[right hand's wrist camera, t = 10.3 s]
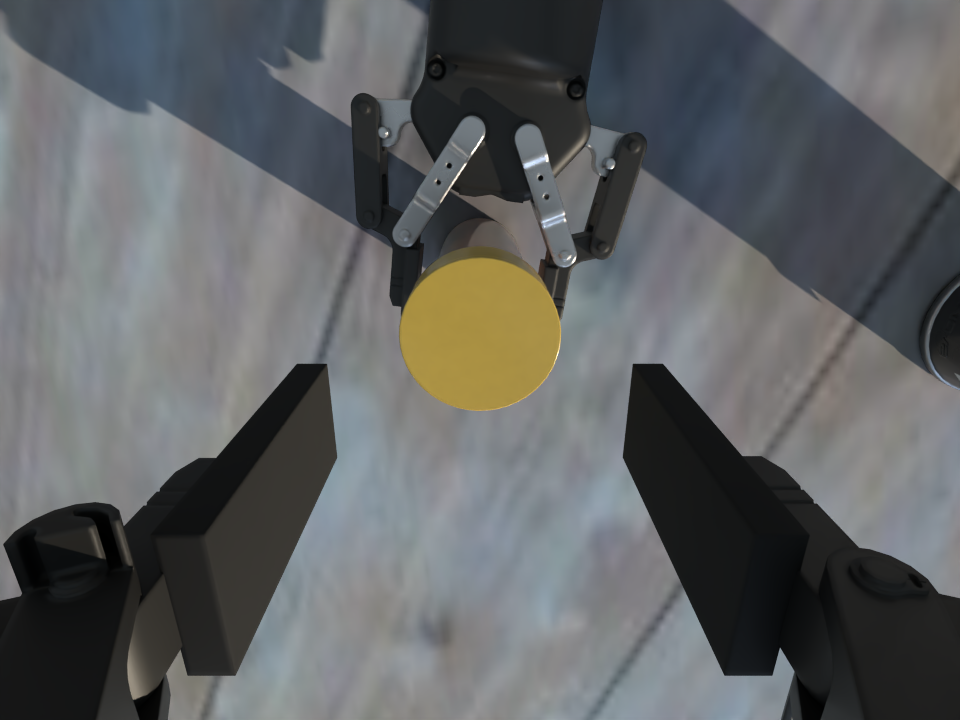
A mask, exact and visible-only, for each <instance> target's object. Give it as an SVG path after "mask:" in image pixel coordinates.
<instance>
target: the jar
mask: <svg viewBox="0 0 960 720" xmlns="http://www.w3.org/2000/svg"><path fill="white" fill-rule="evenodd" d="M474 246H486V247H494V248H498V249H502V250H505V251H508V252H510V253H512V254H514V255H516V256H518V257H520V258H521V259H522V257H521V254H520V252H519V249H518V246H517V244H516V242H515V239H514V237H513V236H512V234H511V233H510V232H509V231H508V230H507V229H506V228H505V227H504V226H503V225H501V224H500V223H498V222H496V221H494V220H491V219H486V218H474V219H469V220H466V221H464V222H462V223H460V224H459V225H457V226H456V227H455V228H454V229H453V230H452V231H451V232H450V233H449V234H448V236H447V237H446V239H445V241H444V244H443V246H442V249H441V251H440V254H439V257H438V259H439V258H440V257H442V256H444V255H446V254H448V253H450V252H452V251H455V250H458V249H461V248H467V247H474Z"/></svg>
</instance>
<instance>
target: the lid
mask: <svg viewBox="0 0 960 720" xmlns="http://www.w3.org/2000/svg"><path fill="white" fill-rule="evenodd" d="M399 340H400V348H401V352H402V356H403V358H404V361H405V364H406V366H407V368H408V369H409V371H410V373H411V375H412V376H413V377H414V379H415V380H416V381H417V383H418V384H419V385H420V386H421V387H422V388H423V389H424V390H426V391H427V392H428V393H429V394H430V395H432V396H433V397H435V398H437V399H438V400H440V401H442V402H444V403H446V404H448V405H451V406H454V407H457V408H461V409H466V410H475V411H484V410H494V409H499V408H503V407H506V406H509V405H512V404H514V403H516V402H518V401H520V400H522V399H524V398H525V397H527V396H528V395H529V394H531V393H532V392H533V391H535V390H536V389H537V388H538V387H539V386H540V385H541V384H542V382H543V381H544V380H545V379H546V378H547V376H548V375H549V373H550V371H551V370H552V368H553V366H554V363H555V361H556V359H557V355H558V352H559V348H560V341H561V327H560V320H559V316H558V312H557V309H556V307H555V304H554V302H553V300H552V298H551V296H550V294H549V292H548V290H547V287H546V285H545V284H544V282H543V280H542V279H541V277H540V276H539V275H538V273H537V272H536V271H535V270H534V269H533V268H532V267H531V266H530V265H529V264H528V263H527V262H525V261H524V260H523V259H521V258H520V257H518V256H516V255H514V254H512V253H510V252H508V251H505V250H502V249H498V248H494V247H486V246H474V247H467V248H461V249H458V250H455V251H452V252H450V253H448V254H446V255H444V256H442V257H440V258H439V259H437V260H436V261H435V262H433V263H432V264H431V265H430V266H429V267H428V268H427V269H426V270H425V271H424V272H423V273H422V274H421V276H420V277H419V279H418V280H417V282H416V284H415V286H414V288H413V290H412V292H411V294H410V296H409V298H408V300H407V302H406V304H405V306H404V309H403V312H402V315H401V321H400V326H399Z"/></svg>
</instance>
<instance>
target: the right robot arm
mask: <svg viewBox="0 0 960 720" xmlns="http://www.w3.org/2000/svg"><path fill="white" fill-rule="evenodd" d="M336 459H337V451H336V442H335V433H334V423H333V414H332V405H331V396H330V387H329V377H328V368H327V364H297V365H296V366H295V367H294V368H293V369H292V370H291V372H290V373H289V374H288V375H287V376H286V377H285V379H284V380H283V381H282V382H281V383H280V384H279V386H278V387H277V388H276V389H275V390H274V391H273V392H272V394H271V395H270V396H269V397H268V398H267V399H266V401H265V402H264V403H263V404H262V405H261V406H260V408H259V409H258V410H257V411H256V412H255V413H254V415H253V416H252V417H251V418H250V419H249V420H248V422H247V423H246V424H245V425H244V426H243V427H242V429H241V430H240V431H239V432H238V433H237V434H236V436H235V437H234V438H233V439H232V440H231V441H230V443H229V444H228V445H227V446H226V447H225V448H224V450H223V451H222V452H221V453H220V454H219V455H218V456H217V458H198V459H197V460H195V461H193V462H191V463H190V464H188V465H186V466H185V467H183V468H181V469H180V470H178V471H176V472H175V473H174V474H173V475H172V476H171V477H170V478H169V479H168V480H167V482H166V483H165V484H164V485H163V486H162V487H161V488H160V492H156V493H155V494H154V495H153V496H152V497H151V498H150V499H149V501H148V502H147V505H146V506H143V507H142V508H141V509H140V510H139V511H138V512H137V513H136V514H135V515H134V516H133V517H132V518H131V519H130V521H129V522H128V523H127V524H126V525H125V526H123V522H122V519H121V515H120V512H119V510H118V509H117V508H115V507H114V506H112V505H111V504H105V503H97V502H93V503H84V504H75V505H72V506H68V507H65V508H61V509H57V510H54V511H52V512H49V513H47V514H45V515H43V516H40V517H38V518H36V519H34V520H32V521H30V522H29V523H27V524H26V525H24V526H23V527H21V528H20V529H18V530H17V531H15V532H14V533H13V534H12V535H11V536H10V537H9V539H8V540H7V541H6V542H5V543H4V544H3V545H4V548H5V550H6V553H7V555H8V558H9V560H10V563H11V566H12V568H13V571H14V573H15V576H16V578H17V581H18V584H19V586H20V589H21V591H22V595H21V596H20V597H16V598H11V599H6V600H2V601H0V720H168V712H169V704H170V696H171V695H170V689H169V683H168V679H167V676H166V672H167V671H168V669H169V667H170V666H171V664H172V662H173V661H174V659H175V657H176V656H177V654H178V652H179V651H180V649H181V653H182V656H183V660H184V664H185V668H186V671H187V675H188V676H235V675H236V673H237V671H238V669H239V667H240V665H241V663H242V660H243V658H244V656H245V654H246V652H247V650H248V648H249V645H250V643H251V641H252V639H253V637H254V635H255V633H256V630H257V628H258V626H259V624H260V622H261V620H262V618H263V615H264V613H265V611H266V609H267V607H268V605H269V603H270V600H271V598H272V596H273V594H274V592H275V590H276V588H277V585H278V583H279V581H280V579H281V577H282V575H283V573H284V570H285V568H286V566H287V564H288V562H289V560H290V558H291V555H292V553H293V551H294V549H295V547H296V545H297V543H298V540H299V538H300V536H301V534H302V532H303V530H304V528H305V525H306V523H307V521H308V519H309V517H310V515H311V512H312V510H313V508H314V506H315V504H316V502H317V500H318V497H319V495H320V493H321V491H322V489H323V487H324V485H325V482H326V480H327V478H328V476H329V474H330V472H331V470H332V467H333V465H334V463H335V461H336ZM623 459H624V461H625V463H626V465H627V467H628V470H629V472H630V474H631V476H632V478H633V480H634V482H635V485H636V487H637V489H638V491H639V493H640V495H641V497H642V500H643V502H644V504H645V506H646V508H647V510H648V512H649V515H650V517H651V519H652V521H653V523H654V525H655V528H656V530H657V532H658V534H659V536H660V538H661V540H662V543H663V545H664V547H665V549H666V551H667V553H668V555H669V558H670V560H671V562H672V564H673V566H674V568H675V570H676V573H677V575H678V577H679V579H680V581H681V583H682V585H683V588H684V590H685V592H686V594H687V596H688V598H689V600H690V603H691V605H692V607H693V609H694V611H695V613H696V615H697V618H698V620H699V622H700V624H701V626H702V628H703V630H704V633H705V635H706V637H707V639H708V641H709V643H710V645H711V648H712V650H713V652H714V654H715V656H716V658H717V660H718V663H719V665H720V667H721V669H722V671H723V673H724V675H725V676H772V675H773V671H774V668H775V664H776V660H777V656H778V653H779V649H780V648H781V650H782V651H783V653H784V654H785V656H786V658H787V659H788V661H789V663H790V664H791V666H792V668H793V669H794V671H795V672H794V676H793V679H792V683H791V686H790V690H789V693H788V697H787V700H786V704H785V707H784V711H783V714H782V718H781V720H792V719H793V720H960V598H956V597H951V596H947V595H942V594H939V593H938V592H937V591H936V589H935V588H934V587H933V585H932V584H931V583H930V582H929V580H928V579H927V578H926V577H924V576H923V575H922V574H920V573H919V572H918V571H916V570H915V569H914V568H912V567H911V566H909V565H907V564H905V563H904V562H902V561H900V560H898V559H896V558H894V557H892V556H889V555H886V554H883V553H880V552H877V551H874V550H870V549H863V548H859V547H858V546H857V545H856V544H855V543H854V542H853V541H852V540H851V539H850V538H849V537H848V536H847V535H846V534H845V533H844V532H843V530H842V529H841V528H840V527H839V526H838V525H837V524H836V523H835V522H834V521H833V520H832V519H831V518H830V517H829V516H828V515H827V514H826V513H825V512H824V511H823V510H822V509H821V507H820V506H819V505H818V504H814V502H813V499H812V498H811V497H810V496H809V495H808V494H807V493H806V492H805V491H804V490H801V488H800V485H799V484H798V483H797V482H796V481H795V480H794V479H793V478H792V477H791V476H790V475H789V474H788V473H787V472H786V471H785V470H784V469H782V468H780V467H779V466H777V465H775V464H774V463H772V462H770V461H769V460H767V459H765V458H763V457H762V456H742V455H741V454H740V453H739V452H738V451H737V450H736V448H735V447H734V446H733V445H732V444H731V443H730V441H729V440H728V439H727V438H726V437H725V436H724V434H723V433H722V432H721V431H720V430H719V429H718V427H717V426H716V425H715V424H714V423H713V422H712V420H711V419H710V418H709V417H708V416H707V415H706V413H705V412H704V411H703V410H702V409H701V408H700V406H699V405H698V404H697V403H696V402H695V401H694V399H693V398H692V397H691V396H690V395H689V394H688V392H687V391H686V390H685V389H684V388H683V387H682V386H681V384H680V383H679V382H678V381H677V380H676V379H675V377H674V376H673V375H672V374H671V373H670V372H669V370H668V369H667V368H666V367H665V366H664V365H663V364H633V368H632V377H631V387H630V396H629V405H628V414H627V423H626V433H625V442H624V451H623Z"/></svg>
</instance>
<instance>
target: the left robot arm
mask: <svg viewBox="0 0 960 720" xmlns="http://www.w3.org/2000/svg"><path fill="white" fill-rule="evenodd" d="M602 2H603V0H431V1H430V13H429V25H428V37H427V50H426V62H425V72H424V77H423V80H422V82H421V85H420V87H419V89H418V90H417V92H416V93H415V95H414V97H413V99H412V100H403V99H377V98H375V97H373V96H371V95H369V94H366V93H360V94H358V95H356V96H355V97H354V98H353V100H352V102H351V120H352V139H353V159H354V179H355V198H356V217H357V220H358V222H359V224H360V225H361V226H363V227H364V228H367V229H373V230H375V231H377V232H379V233H381V234H383V235H384V236H386V237H387V238H388V239H389V240H390V242H391V244H392V248H393V254H392V268H391V282H390V299H391V302H392V305H393V306H400V307H401V315H402V312H403V309H404V306H405V304H406V302H407V300H408V298H409V296H410V294H411V292H412V290H413V288H414V286H415V284H416V282H417V280H418V279H419V277H420V276H421V271H422V260H423V249H424V243H420V237H421V233H422V231H423V230H424V228H425V227H426V225H427V224H428V222H429V221H430V219H431V218H432V216H433V215H434V213H435V212H436V210H437V209H438V207H439V206H440V204H441V203H442V201H443V200H444V198H445V197H446V195H447V193H448V192H449V190H450V189H453V190H454V191H456V192H458V193H459V195H466V196H474V197H476V196H483V195H495V196H497V197H499V198H502V199H504V200H506V201H511V202H518V203H523V201H528V200H530V202H531V205H532V208H533V211H534V214H535V216H536V219H537V221H538V224H539V227H540V230H541V233H542V236H543V239H544V242H545V245H546V248H547V251H546V257H545V260H544V259H541V260H540V266H539V272H538V275H539V276H540V277H541V279H542V280H543V282H544V284H545V285H546V287H547V290H548V292H549V294H550V296H551V298H552V300H553V302H554V304H555V307H556V309H557V312H558V316H559V320H561V318H562V315H563V310H564V304H565V299H566V294H567V288H568V283H569V278H570V273H571V271H572V269H573V267H574V266H575V265H576V264H578V263H580V262H582V261H586V260H591V259H595V258H597V259H601V260H603V259H607V258H609V257H610V256H611V255H612V254H613V252H614V249H615V246H616V243H617V240H618V237H619V234H620V231H621V227H622V224H623V221H624V218H625V215H626V212H627V208H628V205H629V202H630V199H631V196H632V193H633V190H634V186H635V183H636V180H637V177H638V174H639V171H640V167H641V164H642V161H643V158H644V155H645V152H646V148H647V142H646V139H645V137H644V136H643V135H642V134H640V133H637V132H627V133H620V132H616V131H612V130H608V129H604V128H601V127H597V126H593V125H591V122H590V119H589V116H588V112H587V107H586V92H587V86H588V81H589V75H590V69H591V64H592V58H593V53H594V47H595V42H596V36H597V30H598V25H599V19H600V14H601V8H602ZM410 122H413V124H414V126H415V128H416V130H417V132H418V134H419V135H420V137H421V139H422V141H423V143H424V145H425V147H426V148H427V150H428V152H429V154H430V156H431V158H432V160H433V161H434V163H435V164H434V165H433V167H432V168H431V170H430V171H429V173H428V175H427V176H426V178H425V179H424V181H423V182H422V184H421V186H420V187H419V189H418V190H417V192H416V194H415V195H414V197H413V199H412V201H411V202H410V204H409V205H408V207H407V208H406V210H405V212H404V213H402V212H400V211H398V210H396V209H394V208H393V207H391V206H389V192H388V159H387V147H391V146H394V145H396V144H397V143H398V142H399V140H400V137H401V131H402V129H403V127H404V126H405V125H406V124H407V123H410ZM584 147H587V148H588V149H589V150H590V152H591V155H592V161H591V167H592V170H593V171H594V173H596V174H597V175H599V176H600V179H599V182H598V186H597V189H596V193H595V196H594V200H593V203H592V206H591V210H590V213H589V217H588V220H587V223H586V227H585V230H584V232H581V233H576V234H572V235H571V233H570V229H569V226H568V223H567V220H566V214H565V210H564V207H563V203H562V200H561V197H560V194H559V191H558V188H557V184H556V181H555V178H556V177H557V175H558V174H559V173H560V172H561V171H562V170H563V169H564V168H565V167H566V166H567V165H568V164H569V163H570V162H571V161H572V160H573V158H574V157H575V156H576V155H577V154H578V153H579V152H580V151H581V150H582V149H583V148H584ZM920 348H921V354H922V358H923V361H924V363H925V365H926V367H927V368H928V370H929V371H930V372H931V374H932V375H933V376H934V377H935V378H937V379H938V380H940V381H941V382H943V383H945V384H947V385H949V386H951V387H953V388H955V389H958V390H960V275H959V276H958V277H956V278H955V279H954V280H953V281H952V282H951V283H949V284H948V285H947V287H946V288H945V289H944V290H943V291H942V292H941V293H940V294H939V296H938V297H937V298H936V300H935V301H934V303H933V304H932V306H931V308H930V309H929V311H928V313H927V315H926V318H925V321H924V323H923V327H922V331H921V338H920Z"/></svg>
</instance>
